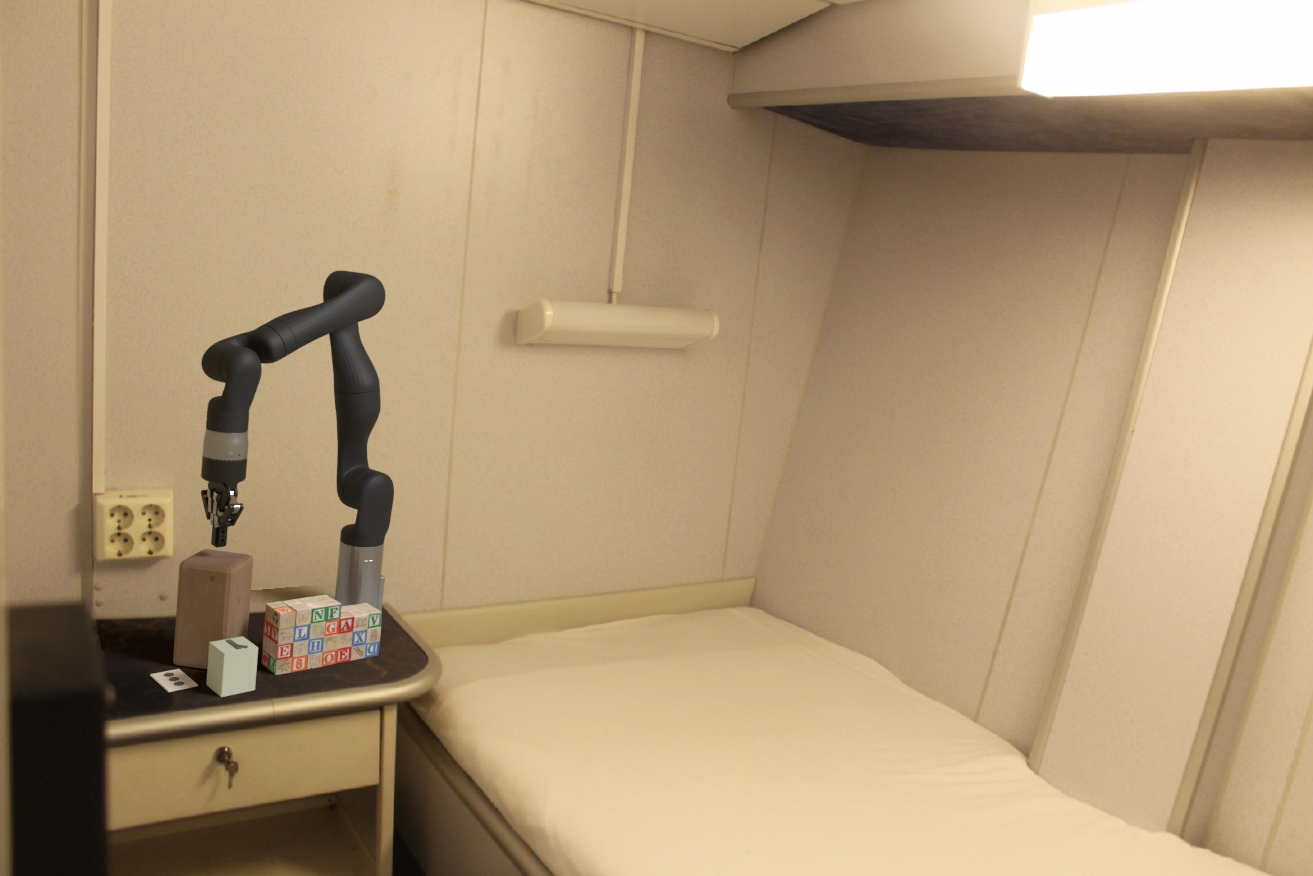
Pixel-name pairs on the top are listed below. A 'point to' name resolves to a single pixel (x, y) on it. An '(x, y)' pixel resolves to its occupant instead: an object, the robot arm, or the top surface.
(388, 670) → the top surface
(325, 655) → the stack of blocks
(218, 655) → the digit block
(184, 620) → the wooden block
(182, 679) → the count card
